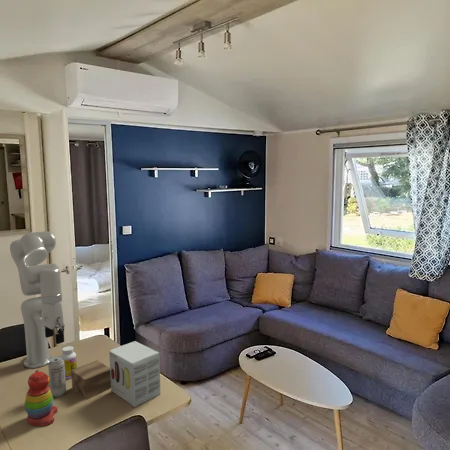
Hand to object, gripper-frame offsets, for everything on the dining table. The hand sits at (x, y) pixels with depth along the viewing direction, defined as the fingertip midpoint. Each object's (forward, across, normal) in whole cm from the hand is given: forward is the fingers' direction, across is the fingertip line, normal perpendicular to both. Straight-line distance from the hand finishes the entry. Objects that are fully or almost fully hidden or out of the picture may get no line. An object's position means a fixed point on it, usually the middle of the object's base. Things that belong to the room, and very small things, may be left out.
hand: (54, 339), depth 165 cm
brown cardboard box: (+23, +5, +12) cm, 27 cm away
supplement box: (+24, +22, +22) cm, 39 cm away
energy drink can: (+24, -1, 0) cm, 24 cm away
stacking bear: (+24, +11, -12) cm, 29 cm away
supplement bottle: (+23, -12, +10) cm, 28 cm away
